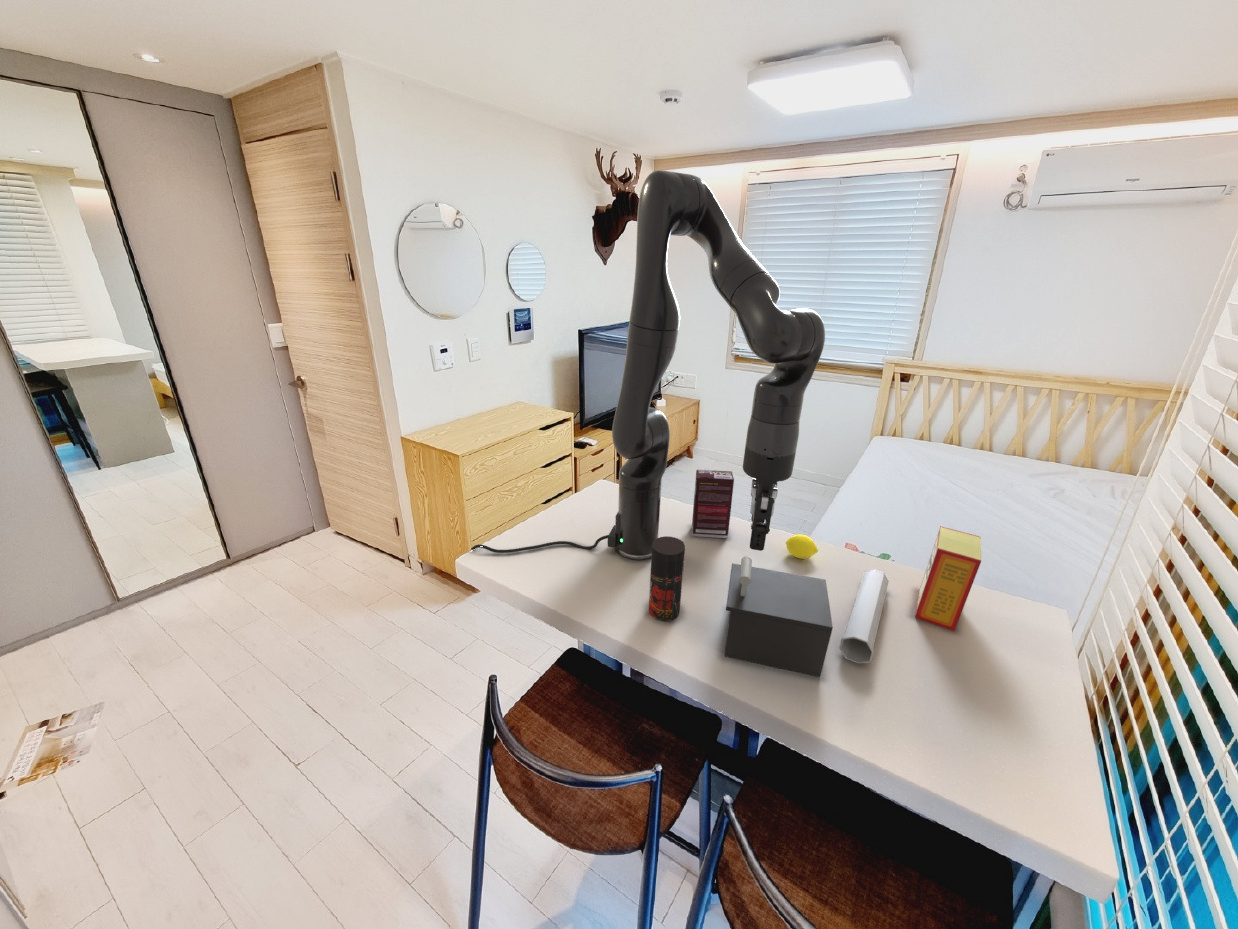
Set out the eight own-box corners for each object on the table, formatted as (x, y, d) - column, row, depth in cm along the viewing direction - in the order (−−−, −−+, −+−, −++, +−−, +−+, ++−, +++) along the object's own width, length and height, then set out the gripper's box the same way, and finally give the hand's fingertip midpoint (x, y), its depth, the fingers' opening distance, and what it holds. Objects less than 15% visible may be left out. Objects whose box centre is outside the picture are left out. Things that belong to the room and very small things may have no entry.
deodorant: (643, 605, 98) (646, 540, 92) (670, 597, 100) (675, 533, 94) (657, 625, 93) (661, 557, 87) (685, 616, 95) (691, 550, 89)
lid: (725, 610, 82) (729, 586, 80) (731, 566, 94) (734, 544, 91) (831, 631, 78) (838, 606, 76) (824, 583, 90) (830, 559, 87)
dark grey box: (724, 656, 86) (730, 611, 82) (730, 609, 97) (735, 567, 93) (820, 677, 83) (831, 631, 79) (814, 626, 94) (824, 583, 90)
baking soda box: (918, 591, 104) (941, 524, 97) (955, 603, 100) (981, 534, 94) (914, 617, 96) (938, 547, 90) (954, 631, 93) (982, 559, 86)
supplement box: (725, 528, 124) (733, 470, 118) (727, 539, 120) (735, 479, 113) (690, 526, 125) (695, 468, 119) (691, 536, 121) (696, 477, 114)
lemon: (781, 558, 113) (785, 538, 111) (786, 546, 118) (790, 526, 115) (813, 567, 110) (818, 546, 108) (817, 555, 115) (822, 535, 112)
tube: (860, 563, 105) (837, 634, 86) (889, 565, 102) (871, 639, 83) (864, 586, 106) (841, 661, 87) (892, 588, 103) (875, 666, 84)
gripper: (747, 427, 84) (736, 511, 91) (743, 459, 72) (731, 554, 78) (794, 431, 82) (779, 517, 89) (798, 466, 70) (781, 563, 76)
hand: (757, 534), depth 84 cm, fingers open, 8 cm apart
